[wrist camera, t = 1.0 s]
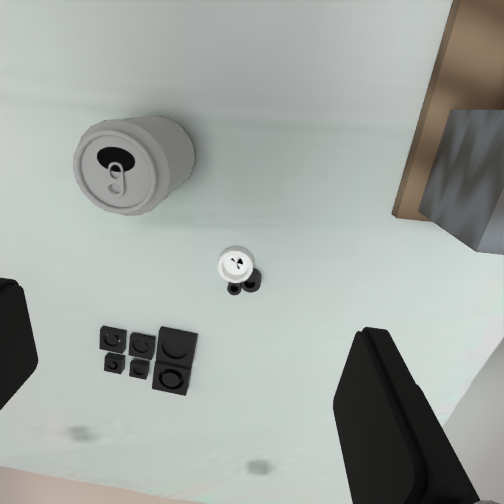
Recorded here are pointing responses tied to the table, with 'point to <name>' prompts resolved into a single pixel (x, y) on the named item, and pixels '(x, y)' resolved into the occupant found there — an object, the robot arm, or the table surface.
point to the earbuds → (175, 334)
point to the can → (133, 163)
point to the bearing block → (462, 133)
